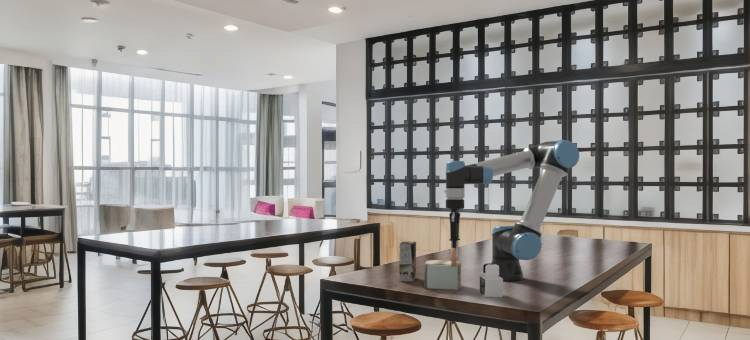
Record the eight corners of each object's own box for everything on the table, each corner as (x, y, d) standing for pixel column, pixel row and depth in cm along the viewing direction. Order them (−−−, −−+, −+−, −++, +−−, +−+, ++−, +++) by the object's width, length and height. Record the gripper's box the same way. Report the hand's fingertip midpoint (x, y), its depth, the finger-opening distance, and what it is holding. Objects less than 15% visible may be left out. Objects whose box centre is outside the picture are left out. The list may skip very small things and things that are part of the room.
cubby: (460, 285, 234) (460, 261, 234) (459, 289, 225) (460, 264, 225) (426, 283, 237) (427, 259, 237) (424, 288, 228) (424, 263, 228)
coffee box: (413, 282, 240) (413, 244, 240) (398, 281, 242) (399, 243, 242) (416, 278, 249) (416, 241, 249) (402, 277, 251) (402, 240, 251)
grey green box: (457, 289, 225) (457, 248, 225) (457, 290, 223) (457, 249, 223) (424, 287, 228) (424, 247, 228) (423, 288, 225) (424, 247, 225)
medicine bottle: (479, 293, 219) (479, 262, 219) (497, 293, 219) (497, 262, 219) (484, 297, 212) (484, 265, 212) (503, 297, 212) (503, 265, 212)
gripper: (448, 197, 238) (447, 253, 238) (443, 199, 225) (442, 258, 225) (466, 198, 235) (465, 254, 235) (462, 199, 223) (461, 259, 223)
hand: (454, 256), depth 230 cm, fingers closed
